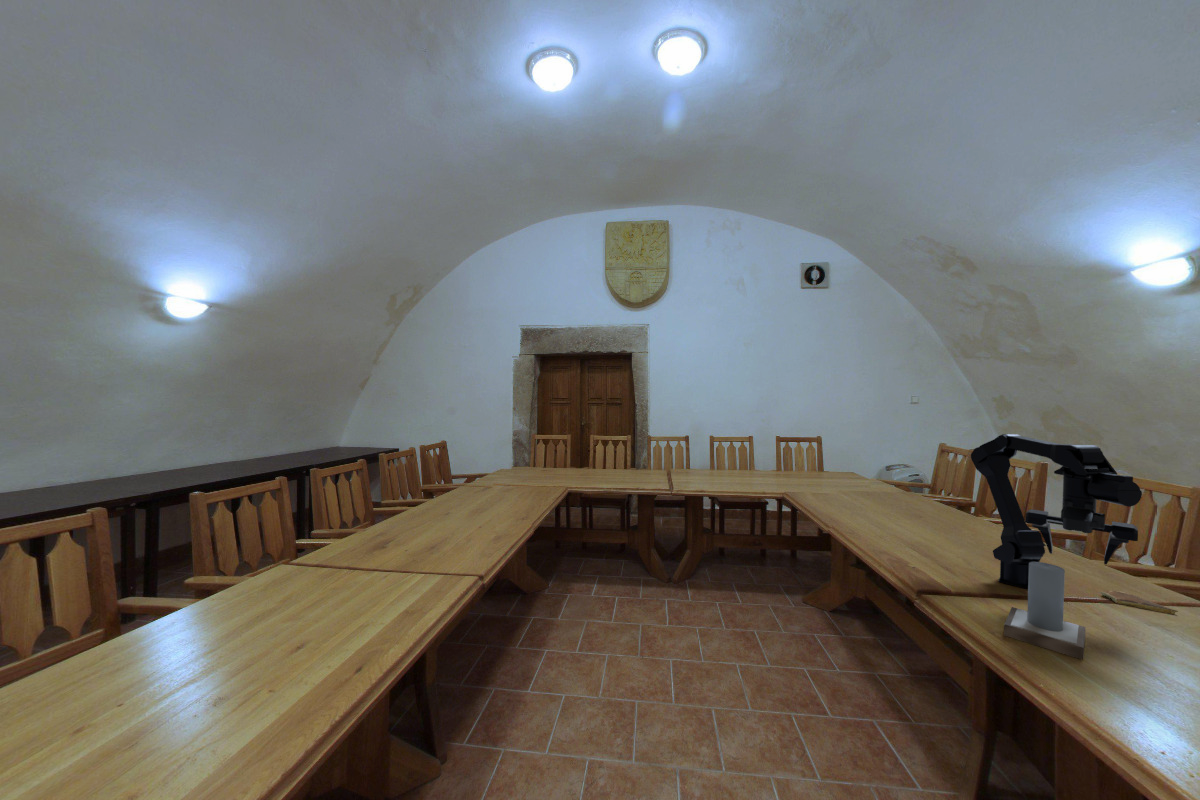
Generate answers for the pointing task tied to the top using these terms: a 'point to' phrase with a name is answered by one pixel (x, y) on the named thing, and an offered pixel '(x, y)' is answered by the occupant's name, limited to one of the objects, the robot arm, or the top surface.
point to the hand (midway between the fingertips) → (1077, 558)
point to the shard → (1136, 601)
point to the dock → (1046, 634)
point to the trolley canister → (1046, 596)
